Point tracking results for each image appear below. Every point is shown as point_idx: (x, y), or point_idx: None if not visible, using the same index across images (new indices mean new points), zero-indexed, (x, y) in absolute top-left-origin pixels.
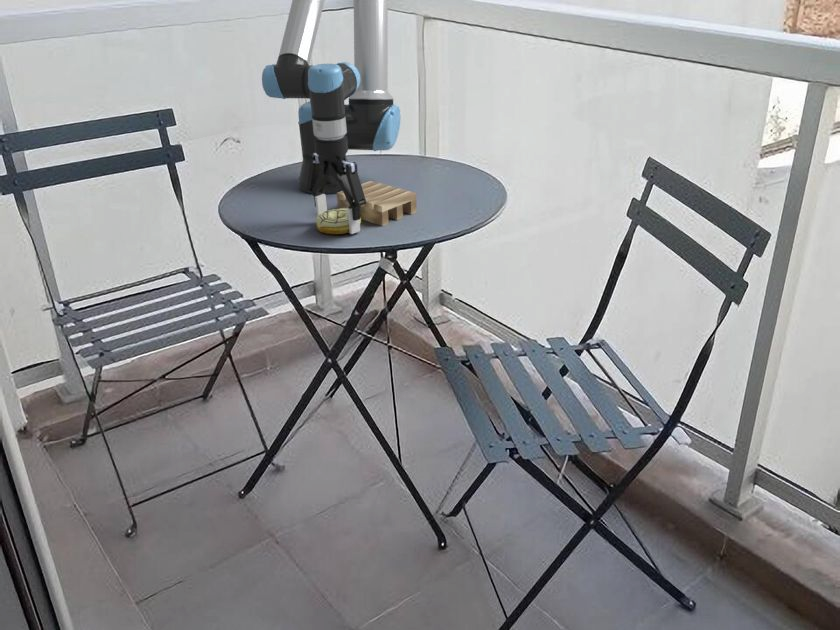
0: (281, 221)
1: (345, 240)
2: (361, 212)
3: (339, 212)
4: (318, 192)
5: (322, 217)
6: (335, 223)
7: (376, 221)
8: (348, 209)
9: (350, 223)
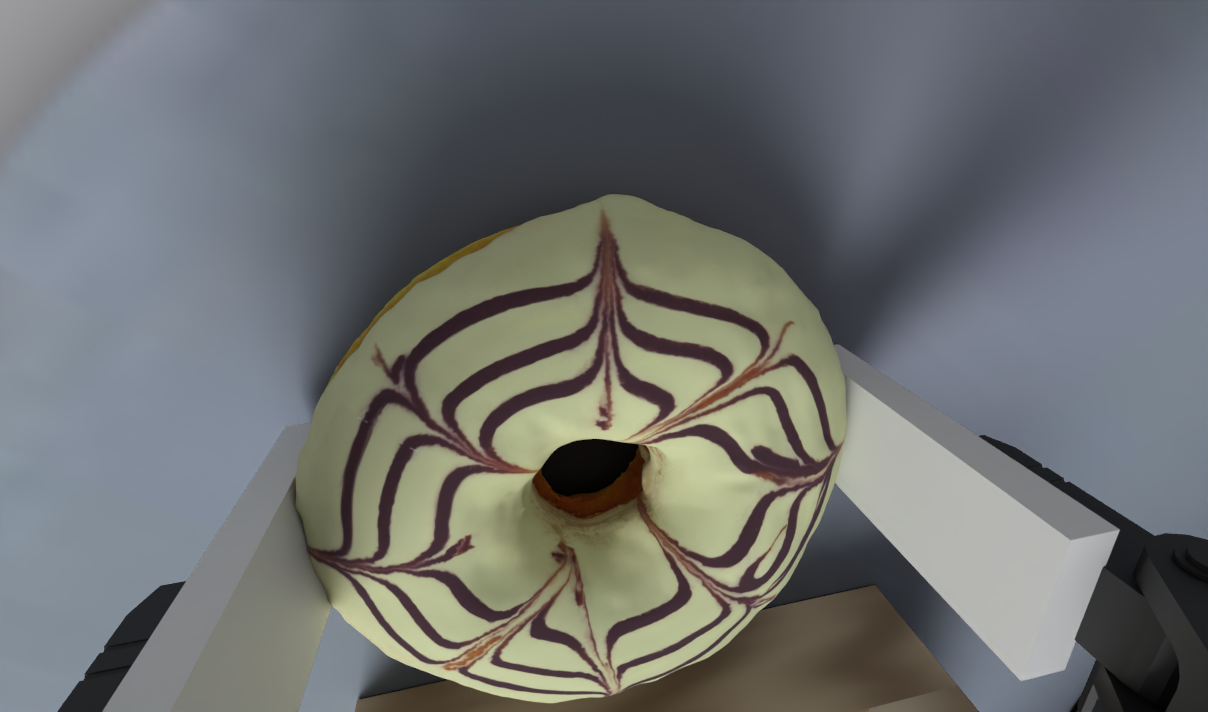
0: (1183, 129)
1: (234, 303)
2: (624, 701)
3: (664, 566)
4: (1149, 643)
5: (678, 326)
6: (392, 360)
7: (433, 706)
8: (156, 699)
9: (246, 506)
